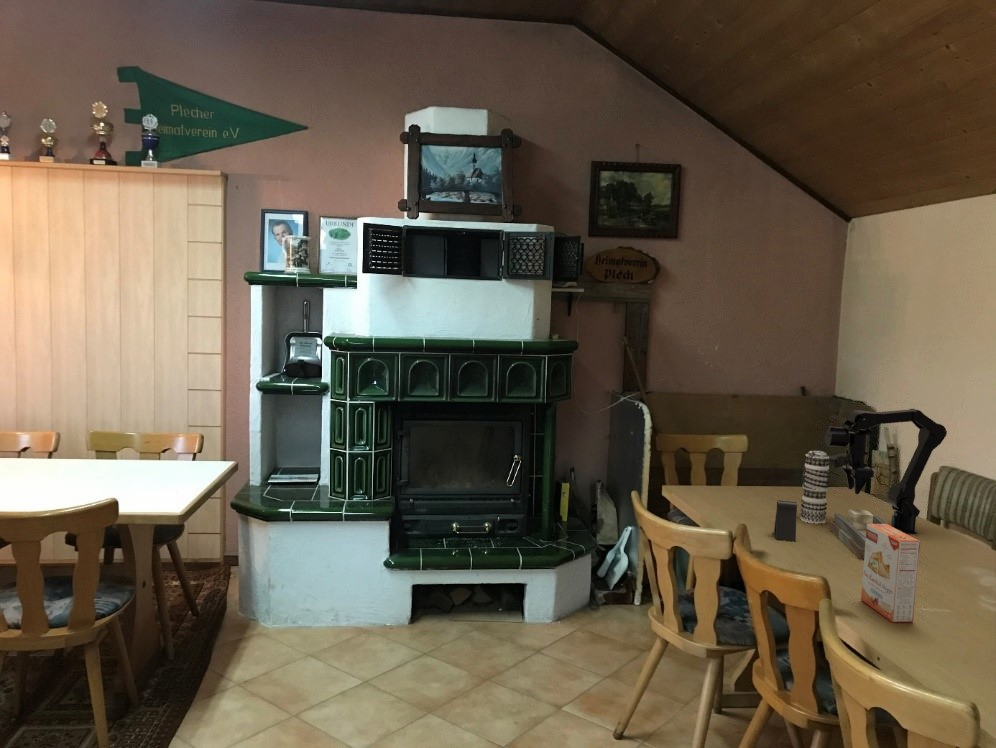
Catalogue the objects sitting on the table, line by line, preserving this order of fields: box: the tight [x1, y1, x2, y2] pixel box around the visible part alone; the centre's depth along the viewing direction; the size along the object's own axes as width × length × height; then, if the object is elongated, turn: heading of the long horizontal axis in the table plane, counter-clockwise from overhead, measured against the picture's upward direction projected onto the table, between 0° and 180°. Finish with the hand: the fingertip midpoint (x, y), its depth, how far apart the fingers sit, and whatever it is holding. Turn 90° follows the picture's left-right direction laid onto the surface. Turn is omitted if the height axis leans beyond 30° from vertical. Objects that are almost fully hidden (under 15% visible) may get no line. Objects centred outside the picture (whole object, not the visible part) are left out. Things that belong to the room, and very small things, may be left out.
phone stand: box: [773, 499, 798, 543], centre depth 253 cm, size 9×6×12 cm, turn 164°
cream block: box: [847, 508, 874, 530], centre depth 257 cm, size 6×6×5 cm
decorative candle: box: [799, 450, 831, 525], centre depth 273 cm, size 9×9×25 cm
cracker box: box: [860, 523, 921, 623], centre depth 192 cm, size 14×6×21 cm, turn 5°
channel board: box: [829, 513, 890, 560], centre depth 247 cm, size 16×31×6 cm, turn 173°
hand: (853, 491), depth 265 cm, fingers open, 6 cm apart
